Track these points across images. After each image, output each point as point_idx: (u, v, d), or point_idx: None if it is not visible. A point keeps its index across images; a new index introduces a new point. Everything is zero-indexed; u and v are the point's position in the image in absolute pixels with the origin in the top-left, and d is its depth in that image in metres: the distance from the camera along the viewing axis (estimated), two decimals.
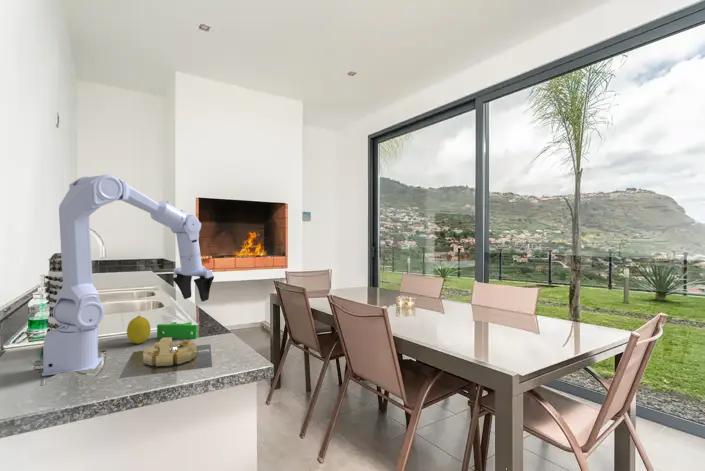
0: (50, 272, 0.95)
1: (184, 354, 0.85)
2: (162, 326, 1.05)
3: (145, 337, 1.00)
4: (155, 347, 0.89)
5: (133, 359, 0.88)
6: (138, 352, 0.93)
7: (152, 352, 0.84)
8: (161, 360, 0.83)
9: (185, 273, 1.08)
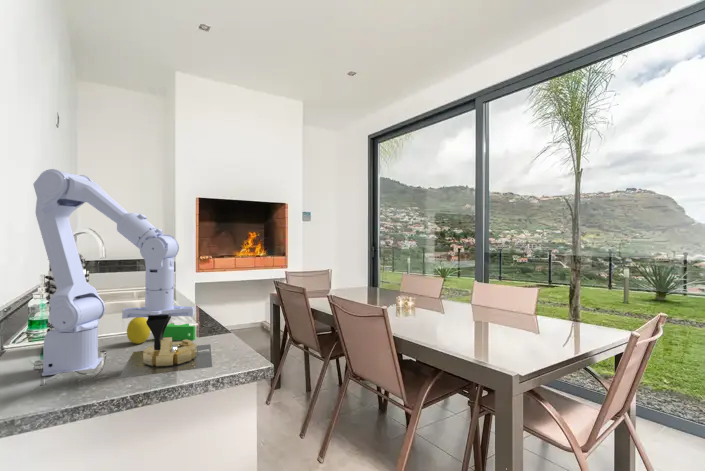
0: (50, 272, 0.95)
1: (184, 354, 0.85)
2: None
3: (145, 337, 1.00)
4: None
5: (133, 359, 0.88)
6: (138, 352, 0.93)
7: (152, 352, 0.84)
8: (161, 360, 0.83)
9: None
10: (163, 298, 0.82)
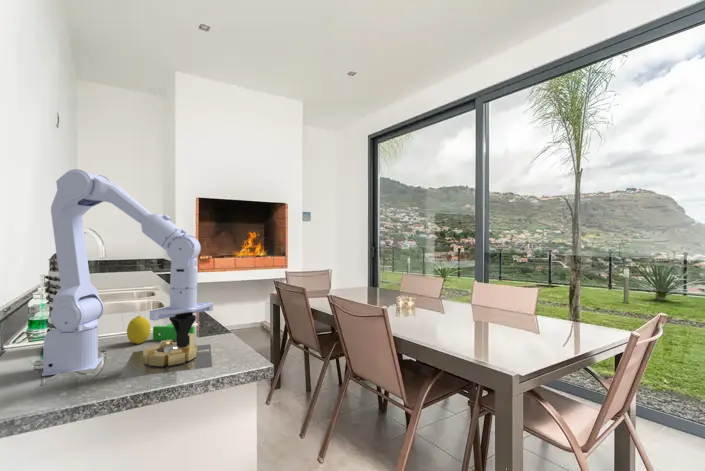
0: (50, 272, 0.95)
1: None
2: (158, 328, 1.03)
3: (145, 337, 1.00)
4: (155, 353, 0.85)
5: (133, 359, 0.88)
6: (138, 352, 0.93)
7: (179, 350, 0.85)
8: (191, 354, 0.87)
9: None
10: (195, 295, 0.86)
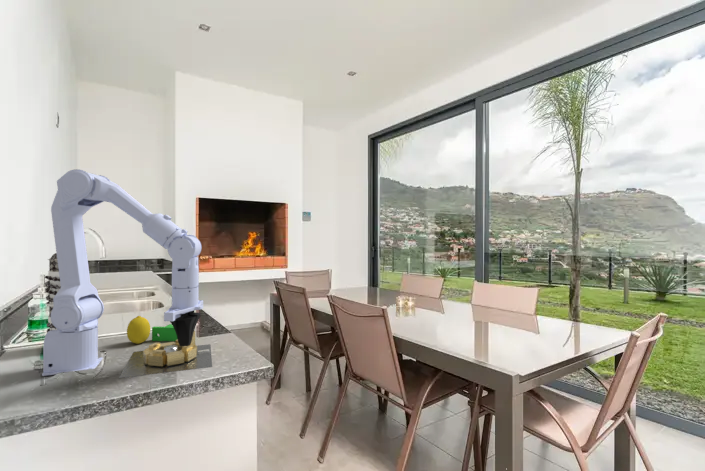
0: (50, 272, 0.95)
1: None
2: (157, 328, 1.03)
3: (145, 337, 1.00)
4: (167, 353, 0.85)
5: (133, 359, 0.88)
6: (138, 352, 0.93)
7: (191, 346, 0.89)
8: None
9: None
10: (198, 294, 0.88)
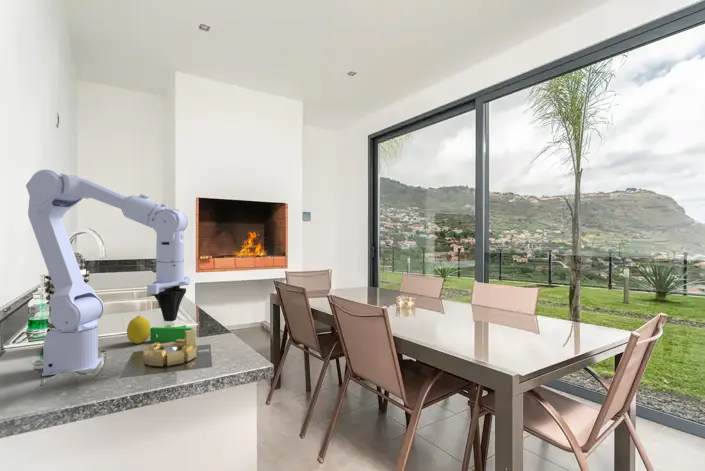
0: None
1: None
2: (156, 329, 1.02)
3: (145, 337, 1.00)
4: (167, 353, 0.85)
5: (133, 359, 0.88)
6: (138, 352, 0.93)
7: (191, 346, 0.89)
8: None
9: None
10: (183, 269, 0.87)
